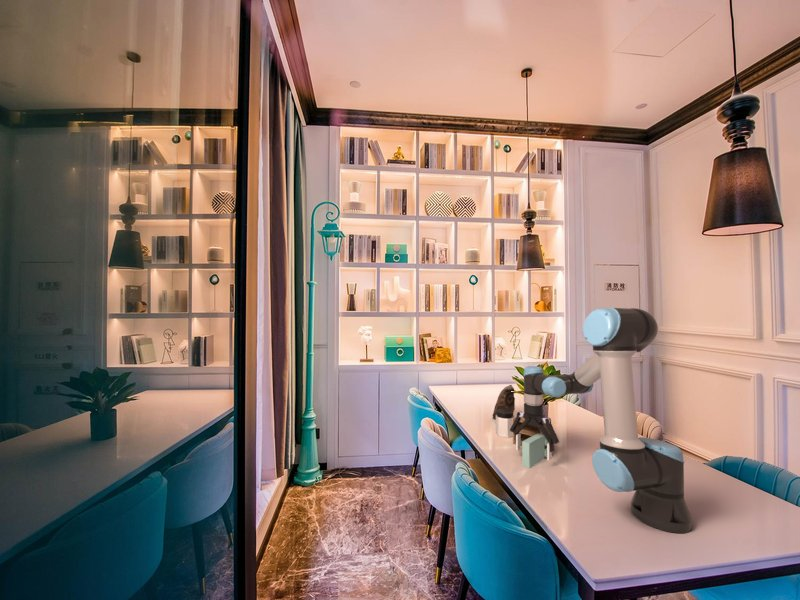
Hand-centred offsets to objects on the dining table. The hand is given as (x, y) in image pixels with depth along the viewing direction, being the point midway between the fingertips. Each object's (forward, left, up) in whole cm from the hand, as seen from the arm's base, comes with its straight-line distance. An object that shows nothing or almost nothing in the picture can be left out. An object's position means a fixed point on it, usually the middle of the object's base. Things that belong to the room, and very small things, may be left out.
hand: (533, 454), depth 147 cm
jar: (+20, +25, -3) cm, 32 cm away
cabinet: (+17, +9, -3) cm, 20 cm away
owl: (+42, +38, -3) cm, 57 cm away
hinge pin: (+9, 0, -3) cm, 10 cm away
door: (+3, 0, -3) cm, 4 cm away
